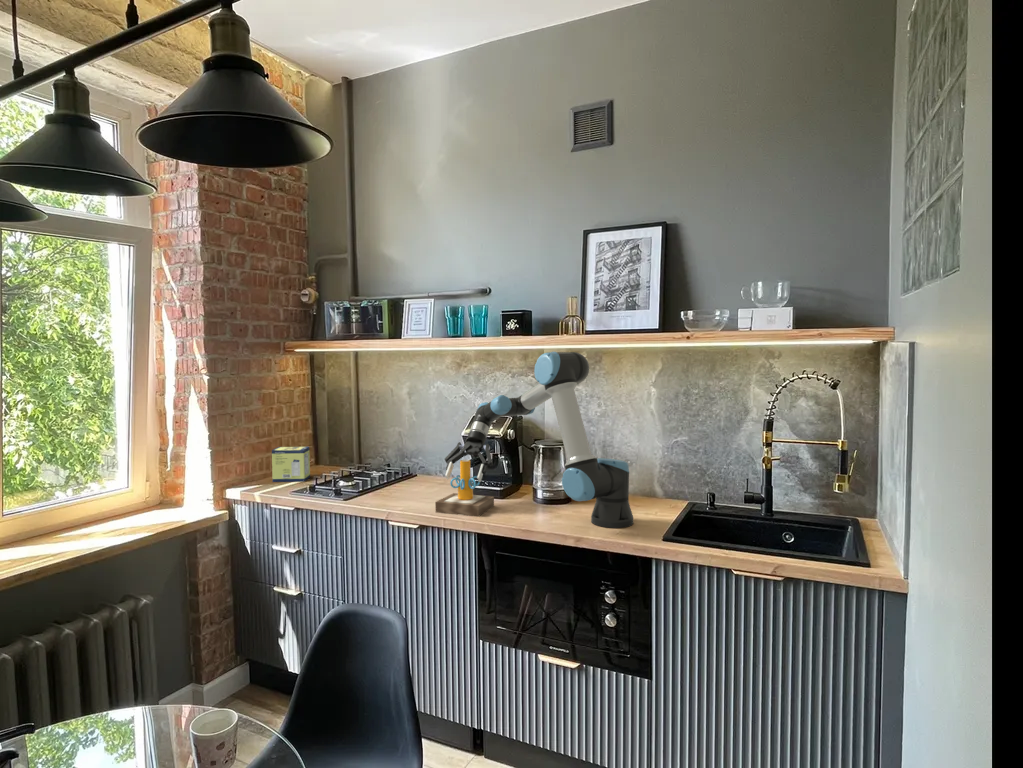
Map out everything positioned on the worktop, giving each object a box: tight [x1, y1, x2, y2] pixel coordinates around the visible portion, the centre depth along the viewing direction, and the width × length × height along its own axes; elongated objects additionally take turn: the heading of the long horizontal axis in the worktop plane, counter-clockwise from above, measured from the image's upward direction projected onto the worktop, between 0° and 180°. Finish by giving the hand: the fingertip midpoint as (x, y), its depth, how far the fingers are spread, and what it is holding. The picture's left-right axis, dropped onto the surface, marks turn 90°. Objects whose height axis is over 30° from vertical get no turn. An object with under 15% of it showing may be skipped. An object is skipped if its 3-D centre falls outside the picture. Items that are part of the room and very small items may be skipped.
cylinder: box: [450, 459, 481, 500], centre depth 240 cm, size 12×10×15 cm
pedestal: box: [435, 492, 495, 517], centre depth 240 cm, size 18×16×4 cm
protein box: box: [271, 446, 311, 483], centre depth 297 cm, size 10×16×16 cm
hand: (462, 478), depth 238 cm, fingers open, 13 cm apart
